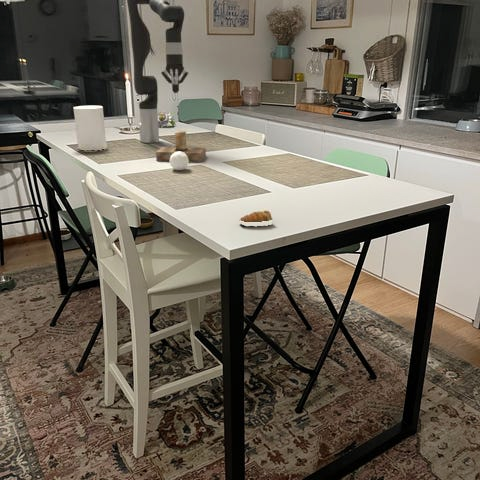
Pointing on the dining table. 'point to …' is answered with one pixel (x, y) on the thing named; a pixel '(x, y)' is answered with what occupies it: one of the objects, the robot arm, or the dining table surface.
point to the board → (191, 152)
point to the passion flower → (165, 119)
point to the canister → (90, 127)
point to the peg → (180, 140)
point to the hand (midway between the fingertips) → (175, 92)
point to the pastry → (257, 217)
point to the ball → (179, 160)
